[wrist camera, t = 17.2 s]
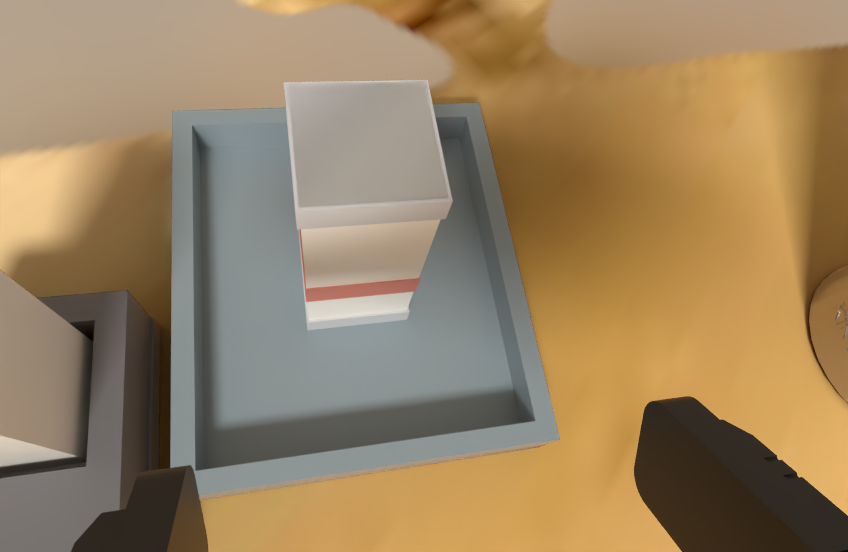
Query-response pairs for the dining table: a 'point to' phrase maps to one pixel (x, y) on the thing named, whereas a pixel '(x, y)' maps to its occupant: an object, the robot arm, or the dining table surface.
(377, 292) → the block
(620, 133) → the dining table surface
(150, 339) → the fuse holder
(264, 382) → the tray
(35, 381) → the block
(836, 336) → the robot arm
